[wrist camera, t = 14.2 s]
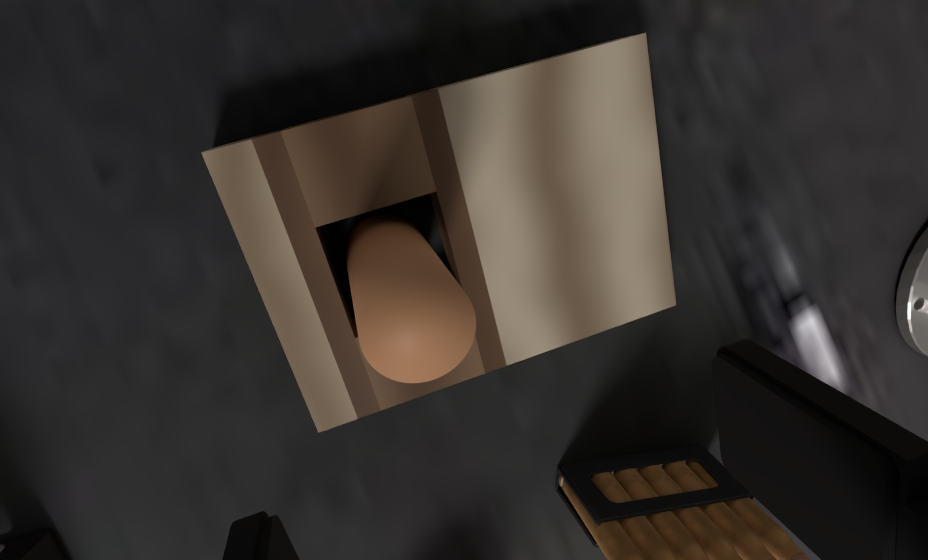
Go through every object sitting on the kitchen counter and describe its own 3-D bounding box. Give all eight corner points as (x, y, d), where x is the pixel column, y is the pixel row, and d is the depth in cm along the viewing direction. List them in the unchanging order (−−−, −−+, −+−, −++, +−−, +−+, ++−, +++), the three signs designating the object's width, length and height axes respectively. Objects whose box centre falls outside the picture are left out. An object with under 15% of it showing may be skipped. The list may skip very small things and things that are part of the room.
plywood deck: (618, 38, 27) (645, 32, 25) (650, 290, 32) (675, 305, 30) (212, 147, 24) (201, 152, 22) (318, 406, 29) (318, 432, 27)
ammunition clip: (554, 489, 35) (663, 668, 24) (556, 464, 34) (669, 636, 23) (698, 467, 38) (855, 619, 27) (702, 444, 37) (865, 590, 26)
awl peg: (412, 203, 27) (460, 257, 18) (433, 276, 28) (487, 360, 19) (334, 227, 26) (341, 295, 17) (359, 300, 28) (379, 399, 19)
